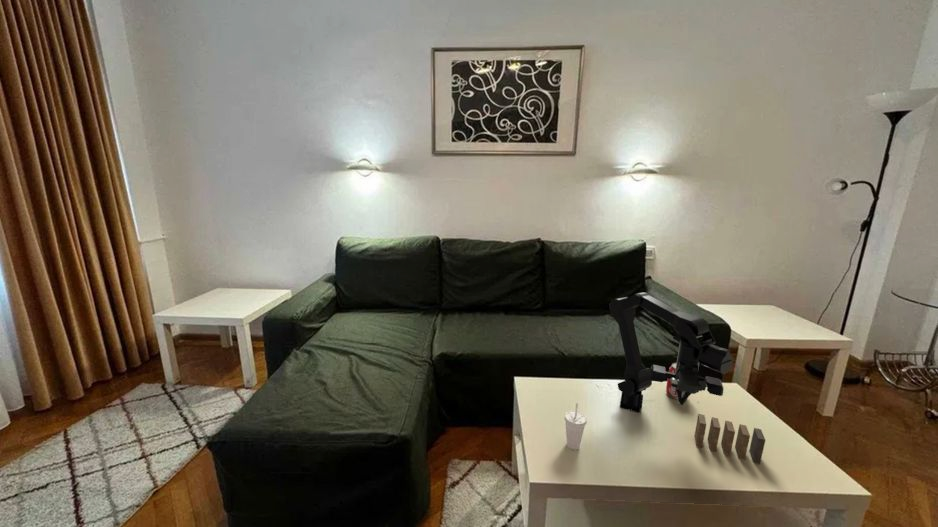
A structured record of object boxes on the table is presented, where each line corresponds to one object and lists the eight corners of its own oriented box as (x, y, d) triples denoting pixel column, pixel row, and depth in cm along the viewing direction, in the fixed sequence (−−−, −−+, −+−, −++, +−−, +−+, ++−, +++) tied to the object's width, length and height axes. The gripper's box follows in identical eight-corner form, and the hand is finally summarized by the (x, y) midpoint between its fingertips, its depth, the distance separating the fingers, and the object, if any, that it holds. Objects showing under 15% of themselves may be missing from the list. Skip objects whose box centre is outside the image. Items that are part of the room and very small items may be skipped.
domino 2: (709, 449, 108) (714, 426, 106) (707, 439, 112) (711, 416, 110) (715, 451, 107) (720, 428, 105) (713, 441, 111) (718, 418, 110)
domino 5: (753, 462, 103) (758, 438, 101) (749, 451, 107) (754, 427, 106) (759, 464, 102) (765, 440, 101) (755, 452, 107) (761, 429, 105)
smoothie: (584, 440, 111) (588, 400, 107) (583, 455, 105) (588, 413, 102) (563, 435, 113) (566, 396, 109) (561, 449, 107) (564, 408, 104)
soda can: (689, 402, 131) (695, 372, 128) (668, 399, 132) (673, 370, 130) (682, 391, 138) (687, 363, 135) (662, 389, 139) (667, 361, 136)
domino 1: (695, 445, 109) (700, 422, 107) (694, 435, 114) (698, 413, 112) (702, 447, 108) (706, 424, 107) (700, 437, 113) (704, 415, 111)
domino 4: (738, 457, 105) (743, 434, 103) (734, 447, 109) (739, 424, 107) (744, 459, 104) (750, 435, 102) (741, 448, 108) (746, 425, 106)
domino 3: (723, 453, 106) (728, 430, 104) (721, 443, 110) (725, 420, 109) (730, 455, 105) (735, 432, 104) (727, 444, 110) (731, 422, 108)
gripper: (653, 362, 105) (646, 409, 108) (731, 378, 97) (721, 429, 100) (653, 347, 115) (647, 390, 118) (724, 361, 106) (715, 407, 110)
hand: (680, 404), depth 111 cm, fingers closed
